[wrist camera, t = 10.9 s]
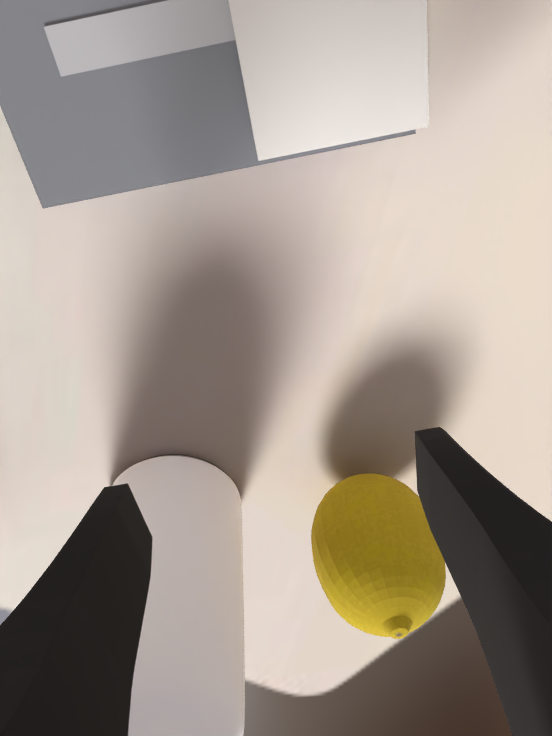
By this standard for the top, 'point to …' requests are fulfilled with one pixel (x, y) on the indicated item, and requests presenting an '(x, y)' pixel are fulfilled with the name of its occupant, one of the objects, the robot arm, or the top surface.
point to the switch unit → (125, 94)
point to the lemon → (377, 555)
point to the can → (189, 601)
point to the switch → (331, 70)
